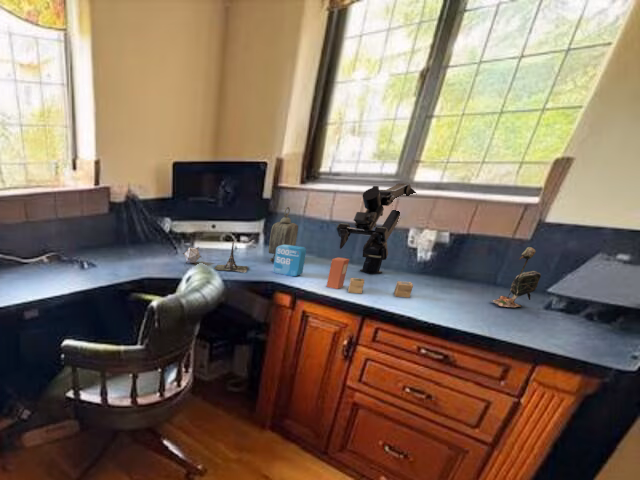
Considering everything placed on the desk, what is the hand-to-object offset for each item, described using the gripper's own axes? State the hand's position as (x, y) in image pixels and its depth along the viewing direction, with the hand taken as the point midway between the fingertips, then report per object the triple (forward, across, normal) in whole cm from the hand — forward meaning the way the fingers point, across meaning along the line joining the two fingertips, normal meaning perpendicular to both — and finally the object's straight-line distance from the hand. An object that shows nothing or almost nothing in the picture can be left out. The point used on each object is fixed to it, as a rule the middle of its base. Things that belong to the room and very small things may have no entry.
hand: (351, 249), depth 168 cm
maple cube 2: (+10, +23, +8) cm, 26 cm away
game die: (+22, -69, -3) cm, 72 cm away
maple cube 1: (+16, +8, +3) cm, 18 cm away
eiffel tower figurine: (+19, -48, 0) cm, 51 cm away
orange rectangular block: (+15, 0, +4) cm, 15 cm away
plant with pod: (+1, +52, +18) cm, 55 cm away
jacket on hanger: (-3, -41, +22) cm, 47 cm away
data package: (+12, -24, +7) cm, 28 cm away
